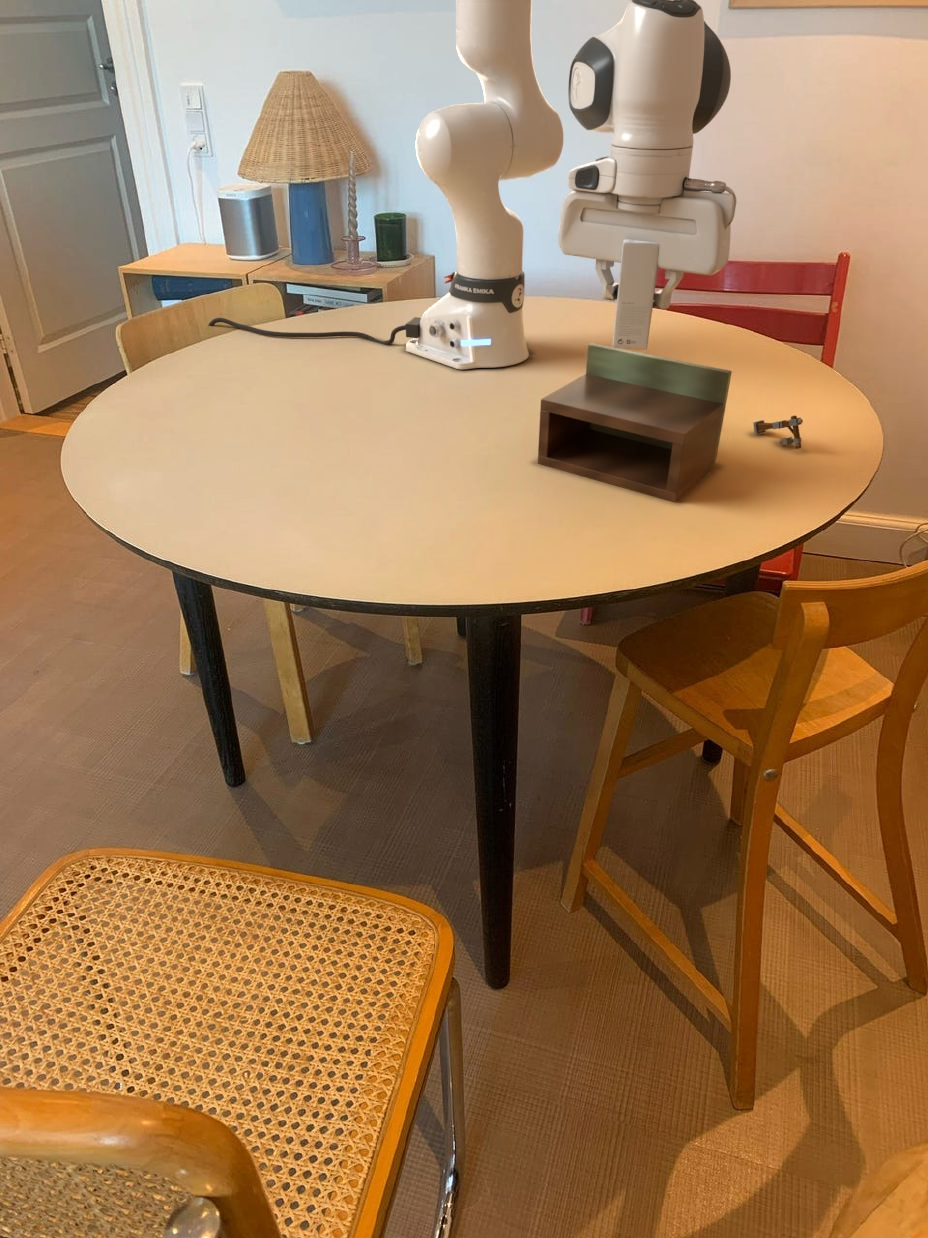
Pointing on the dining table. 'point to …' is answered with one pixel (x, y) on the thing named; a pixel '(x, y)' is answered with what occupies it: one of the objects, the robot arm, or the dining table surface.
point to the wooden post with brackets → (794, 421)
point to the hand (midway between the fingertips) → (634, 303)
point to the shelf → (636, 422)
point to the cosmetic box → (635, 294)
